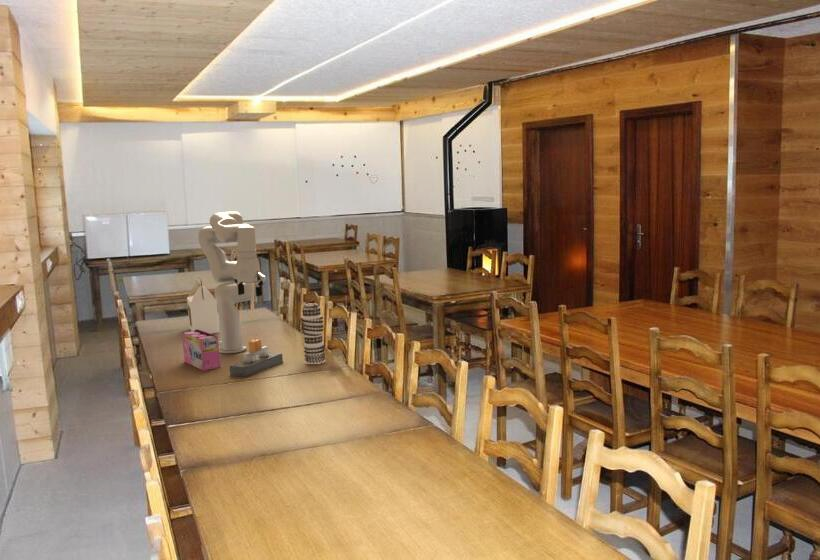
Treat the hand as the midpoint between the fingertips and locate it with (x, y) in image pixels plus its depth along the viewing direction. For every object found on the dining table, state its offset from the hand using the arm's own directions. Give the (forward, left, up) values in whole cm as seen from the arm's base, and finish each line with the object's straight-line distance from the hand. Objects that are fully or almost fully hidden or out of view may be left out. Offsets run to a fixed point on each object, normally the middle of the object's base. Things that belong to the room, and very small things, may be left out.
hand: (250, 295), depth 319 cm
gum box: (-22, -10, -30) cm, 38 cm away
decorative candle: (+26, +7, -30) cm, 40 cm away
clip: (+8, -9, -29) cm, 32 cm away
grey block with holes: (+8, -9, -29) cm, 32 cm away
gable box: (-75, +49, -30) cm, 94 cm away
